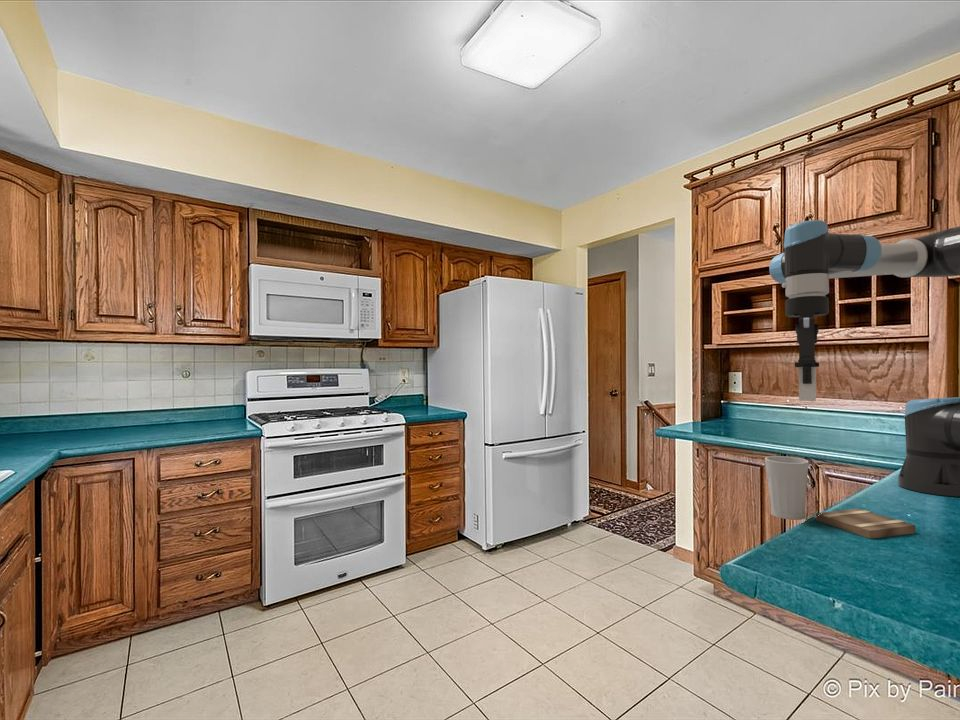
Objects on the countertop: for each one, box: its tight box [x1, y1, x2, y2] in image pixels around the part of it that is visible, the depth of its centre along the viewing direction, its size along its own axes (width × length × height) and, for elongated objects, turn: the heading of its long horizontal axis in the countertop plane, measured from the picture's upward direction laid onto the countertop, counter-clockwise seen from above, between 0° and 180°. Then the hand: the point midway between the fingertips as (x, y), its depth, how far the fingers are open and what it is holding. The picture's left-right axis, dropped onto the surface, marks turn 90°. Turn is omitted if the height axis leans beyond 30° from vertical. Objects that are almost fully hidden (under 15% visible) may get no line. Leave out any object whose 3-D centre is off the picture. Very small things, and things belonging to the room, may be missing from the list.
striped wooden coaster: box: [815, 508, 916, 540], centre depth 96 cm, size 11×11×2 cm
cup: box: [764, 455, 809, 521], centre depth 104 cm, size 8×8×12 cm
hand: (808, 398), depth 100 cm, fingers open, 13 cm apart
